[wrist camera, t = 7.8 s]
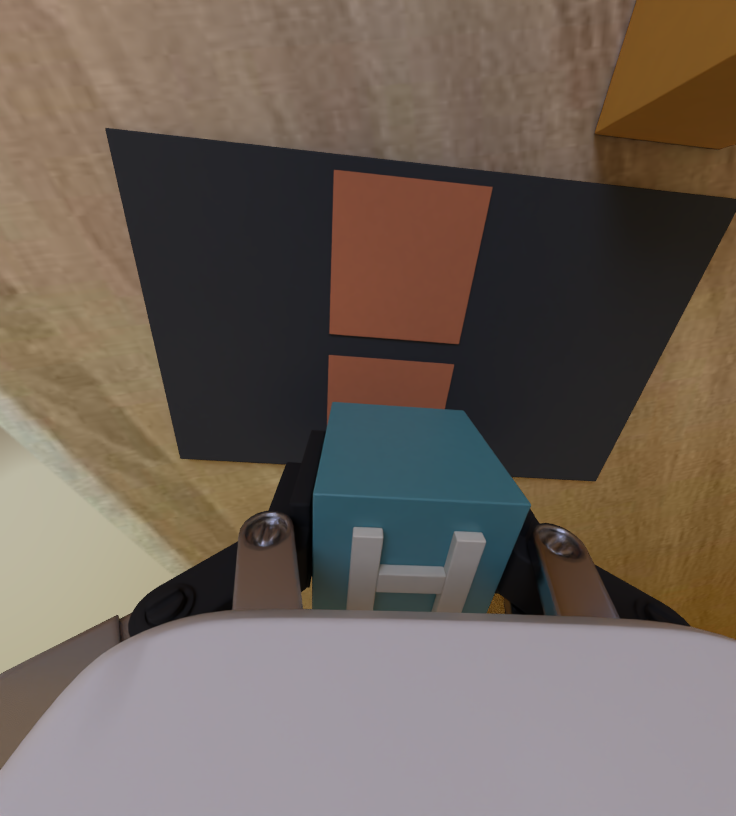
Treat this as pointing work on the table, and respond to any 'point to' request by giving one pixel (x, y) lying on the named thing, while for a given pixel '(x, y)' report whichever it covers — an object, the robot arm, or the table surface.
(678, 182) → the table surface
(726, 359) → the table surface
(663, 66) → the letter i
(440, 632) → the robot arm
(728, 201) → the word mat
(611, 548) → the table surface
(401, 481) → the letter h
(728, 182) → the table surface
